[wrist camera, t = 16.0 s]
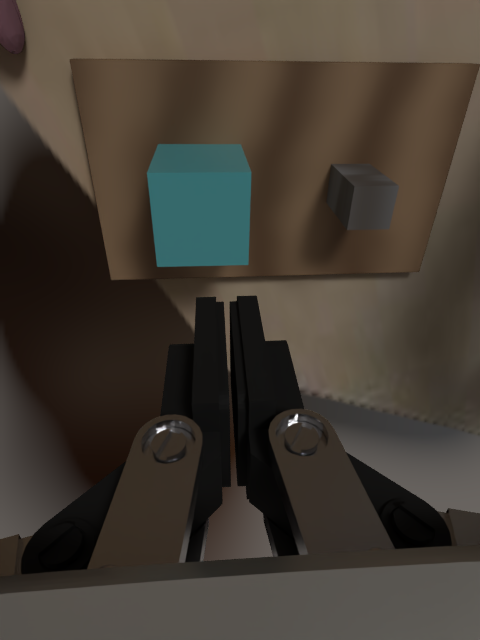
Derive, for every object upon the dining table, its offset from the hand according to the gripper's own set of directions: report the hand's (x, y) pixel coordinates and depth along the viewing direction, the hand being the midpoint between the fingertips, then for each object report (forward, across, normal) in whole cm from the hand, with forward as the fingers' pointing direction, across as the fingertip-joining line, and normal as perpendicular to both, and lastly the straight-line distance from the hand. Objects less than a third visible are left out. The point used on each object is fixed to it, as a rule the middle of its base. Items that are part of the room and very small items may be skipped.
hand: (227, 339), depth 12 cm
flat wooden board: (+20, -4, +1) cm, 20 cm away
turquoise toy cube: (+18, +1, +1) cm, 18 cm away
